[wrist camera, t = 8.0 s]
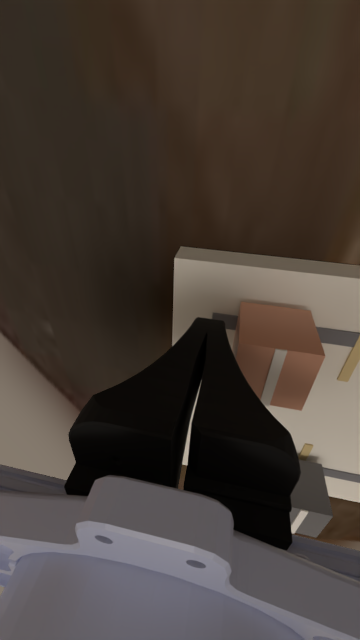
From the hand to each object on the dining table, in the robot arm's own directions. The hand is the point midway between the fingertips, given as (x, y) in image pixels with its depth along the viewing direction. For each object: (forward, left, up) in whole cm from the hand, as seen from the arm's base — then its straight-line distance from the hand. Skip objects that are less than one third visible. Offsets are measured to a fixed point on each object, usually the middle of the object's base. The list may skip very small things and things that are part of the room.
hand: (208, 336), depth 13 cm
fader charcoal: (-7, +11, -1) cm, 13 cm away
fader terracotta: (-3, 0, -1) cm, 3 cm away
